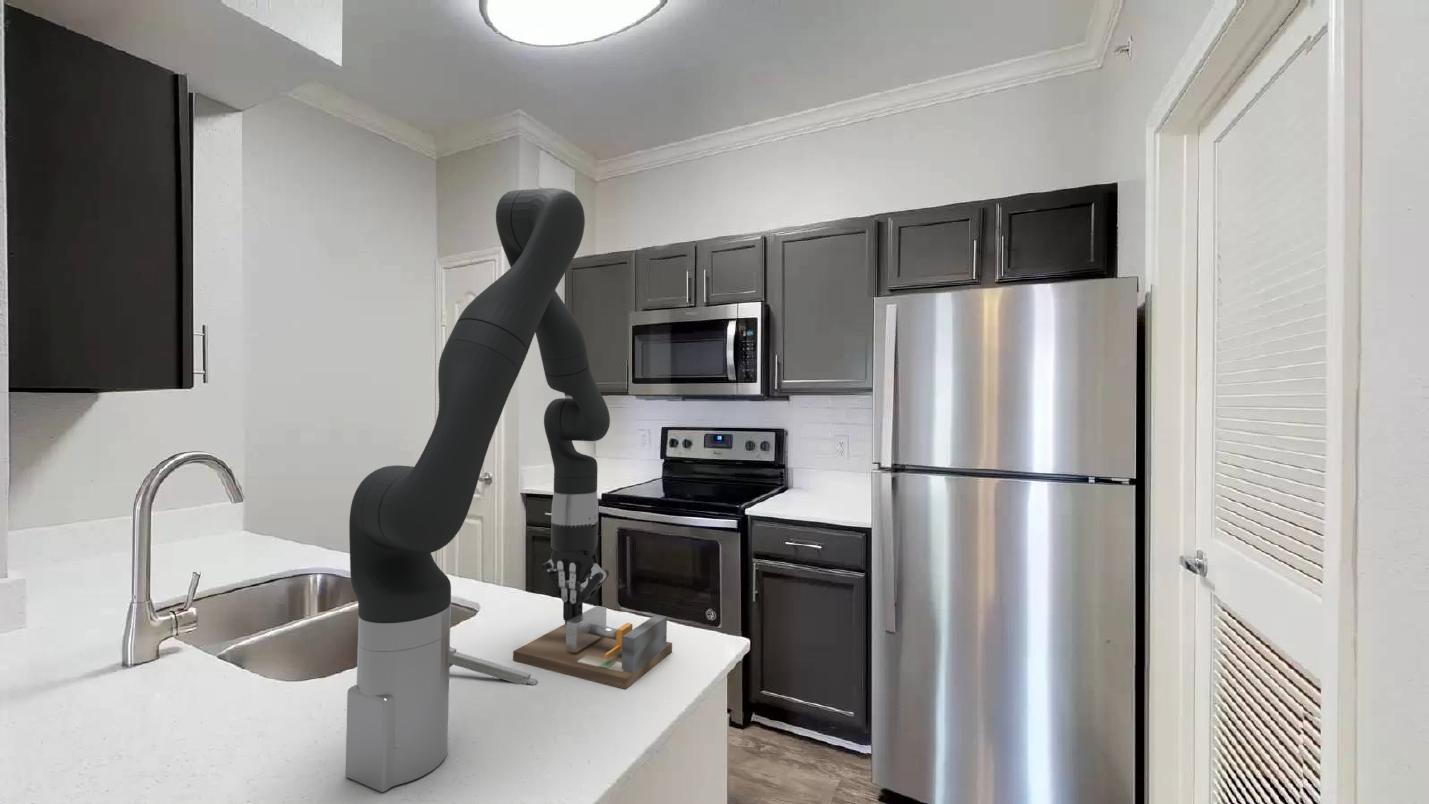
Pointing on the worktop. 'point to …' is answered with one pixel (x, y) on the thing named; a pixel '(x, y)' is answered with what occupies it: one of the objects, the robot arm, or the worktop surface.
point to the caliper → (490, 668)
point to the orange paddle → (619, 639)
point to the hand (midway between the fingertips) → (572, 623)
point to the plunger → (587, 629)
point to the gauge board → (601, 654)
